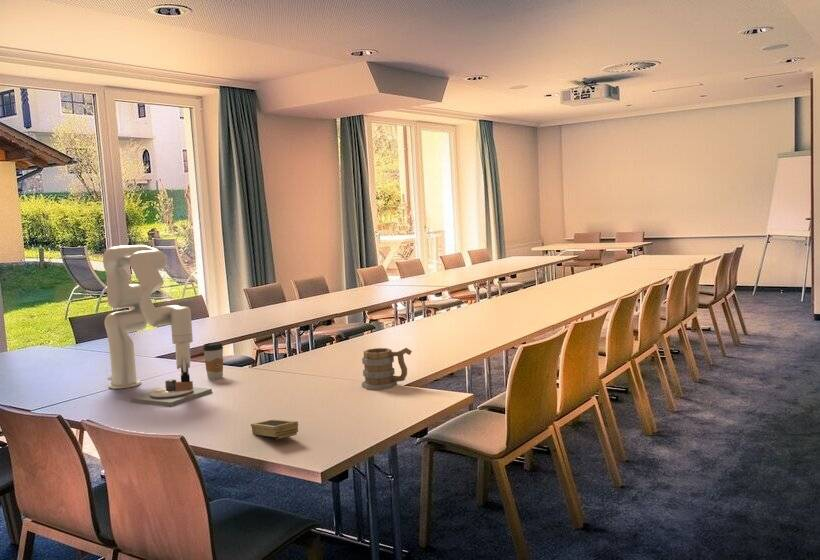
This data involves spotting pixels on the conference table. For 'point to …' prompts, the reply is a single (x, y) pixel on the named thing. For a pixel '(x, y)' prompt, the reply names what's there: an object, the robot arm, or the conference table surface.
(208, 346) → the coffee cup
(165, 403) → the dial plate
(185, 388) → the dial
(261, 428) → the box
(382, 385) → the tankard
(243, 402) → the conference table surface
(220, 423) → the conference table surface
